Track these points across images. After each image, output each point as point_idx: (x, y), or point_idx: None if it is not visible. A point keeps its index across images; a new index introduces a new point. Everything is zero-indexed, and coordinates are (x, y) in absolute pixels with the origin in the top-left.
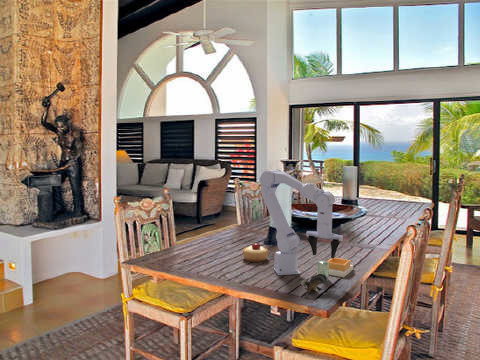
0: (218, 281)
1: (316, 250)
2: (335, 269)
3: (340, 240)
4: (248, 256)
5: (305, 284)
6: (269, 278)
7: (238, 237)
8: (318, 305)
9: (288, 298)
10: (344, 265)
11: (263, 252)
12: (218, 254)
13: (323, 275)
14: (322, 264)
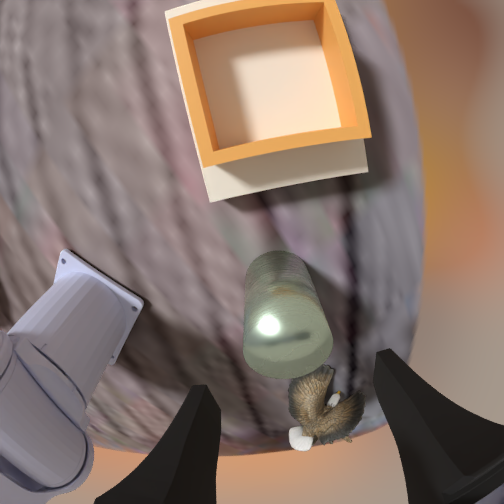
0: (98, 439)
1: (198, 410)
2: (289, 149)
3: (501, 481)
4: None
5: (313, 444)
6: (126, 392)
7: None
8: (368, 425)
9: (285, 444)
10: (369, 136)
11: None
12: None
13: (359, 418)
14: (302, 371)
